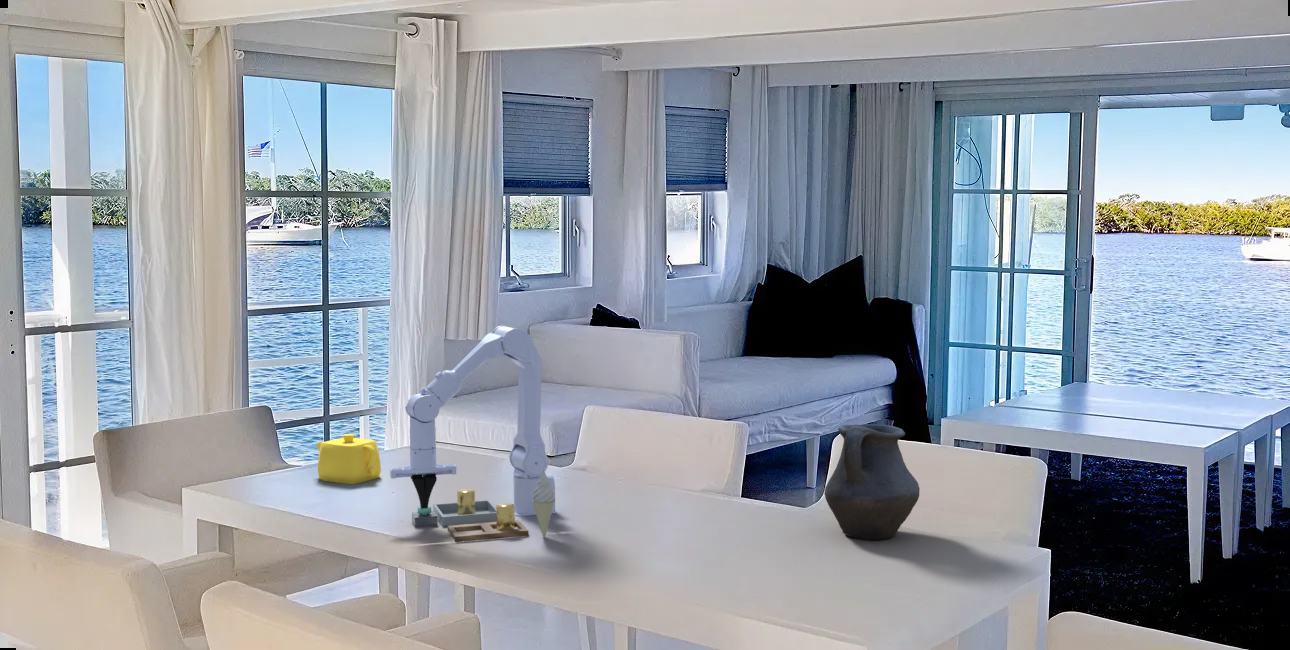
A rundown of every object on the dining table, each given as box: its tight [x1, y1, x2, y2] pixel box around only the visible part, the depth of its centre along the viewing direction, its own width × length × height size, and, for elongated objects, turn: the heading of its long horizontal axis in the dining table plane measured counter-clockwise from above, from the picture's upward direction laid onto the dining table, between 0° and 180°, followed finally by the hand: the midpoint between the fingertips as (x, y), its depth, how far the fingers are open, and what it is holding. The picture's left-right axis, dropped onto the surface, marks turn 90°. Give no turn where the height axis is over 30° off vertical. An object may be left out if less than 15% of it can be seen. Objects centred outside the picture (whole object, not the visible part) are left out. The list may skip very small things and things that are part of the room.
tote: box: [432, 499, 496, 527], centre depth 297 cm, size 13×13×2 cm
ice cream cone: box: [532, 469, 556, 538], centre depth 280 cm, size 5×5×15 cm
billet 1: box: [456, 488, 476, 515], centre depth 297 cm, size 4×4×6 cm
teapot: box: [315, 433, 382, 485], centre depth 342 cm, size 20×12×12 cm, turn 59°
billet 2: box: [495, 502, 516, 531], centre depth 285 cm, size 4×4×6 cm
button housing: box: [411, 510, 439, 528], centre depth 291 cm, size 5×5×2 cm
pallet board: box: [447, 519, 530, 543], centre depth 284 cm, size 16×10×1 cm, turn 108°
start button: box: [417, 505, 432, 516], centre depth 291 cm, size 3×3×4 cm
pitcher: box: [823, 423, 920, 542], centre depth 279 cm, size 21×22×25 cm
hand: (424, 507), depth 291 cm, fingers closed, pressing on start button
